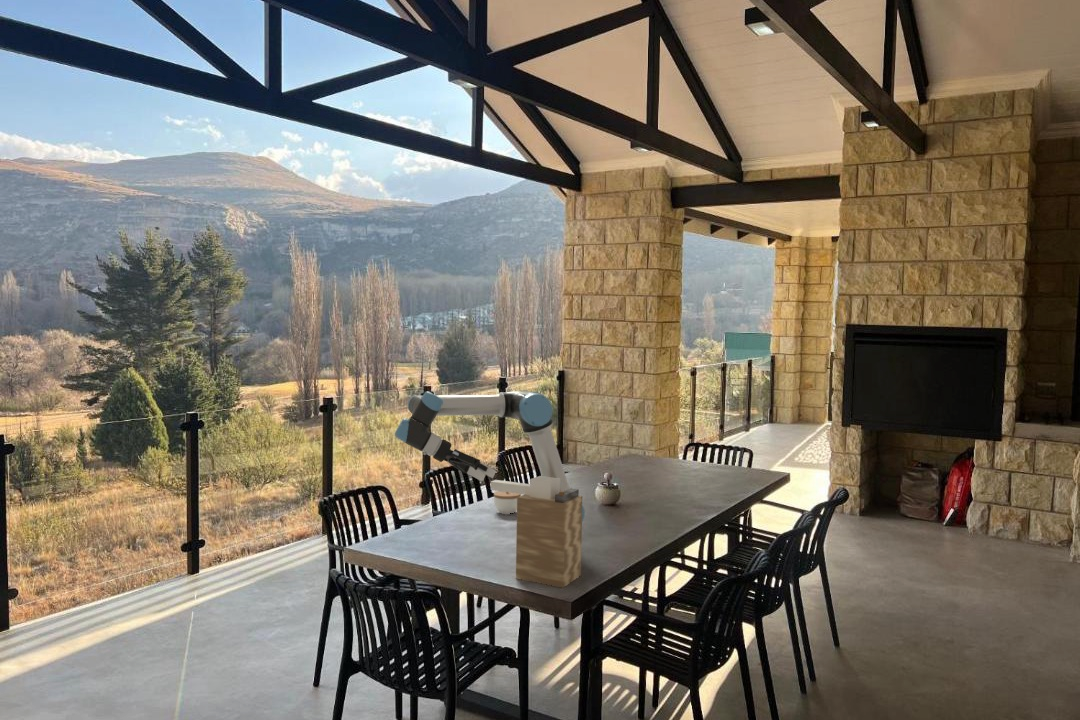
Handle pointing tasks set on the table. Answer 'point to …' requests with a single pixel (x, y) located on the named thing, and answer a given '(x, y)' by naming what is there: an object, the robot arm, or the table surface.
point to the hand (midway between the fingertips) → (489, 476)
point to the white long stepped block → (530, 487)
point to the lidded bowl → (506, 502)
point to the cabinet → (549, 538)
